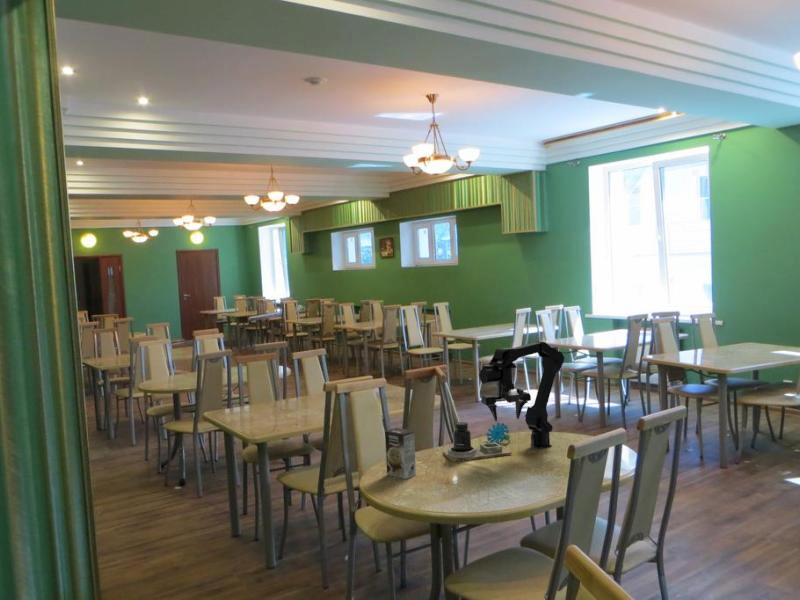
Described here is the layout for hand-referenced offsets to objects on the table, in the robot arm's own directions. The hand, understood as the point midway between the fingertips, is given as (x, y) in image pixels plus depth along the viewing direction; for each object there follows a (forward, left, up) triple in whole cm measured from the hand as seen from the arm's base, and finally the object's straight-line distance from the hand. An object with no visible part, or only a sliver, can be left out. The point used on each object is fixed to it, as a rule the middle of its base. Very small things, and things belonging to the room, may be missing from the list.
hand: (506, 420), depth 259 cm
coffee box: (+46, +10, -13) cm, 49 cm away
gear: (-3, -17, -13) cm, 22 cm away
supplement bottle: (+18, -3, -12) cm, 22 cm away
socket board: (+12, -3, -13) cm, 18 cm away
